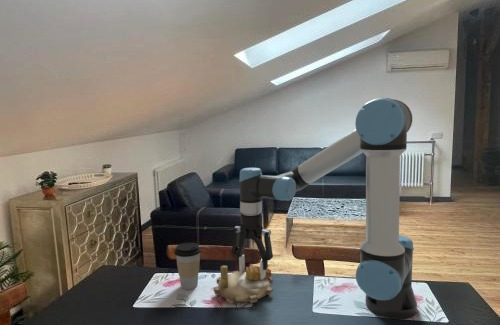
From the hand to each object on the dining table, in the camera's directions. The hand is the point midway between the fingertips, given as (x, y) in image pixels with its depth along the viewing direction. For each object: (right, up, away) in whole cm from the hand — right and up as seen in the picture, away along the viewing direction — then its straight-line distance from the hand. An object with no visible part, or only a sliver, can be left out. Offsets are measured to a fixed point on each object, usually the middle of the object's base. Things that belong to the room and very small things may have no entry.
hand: (252, 275), depth 123 cm
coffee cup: (-23, -5, +4) cm, 24 cm away
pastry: (+2, -2, +3) cm, 4 cm away
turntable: (-3, -4, -1) cm, 5 cm away
